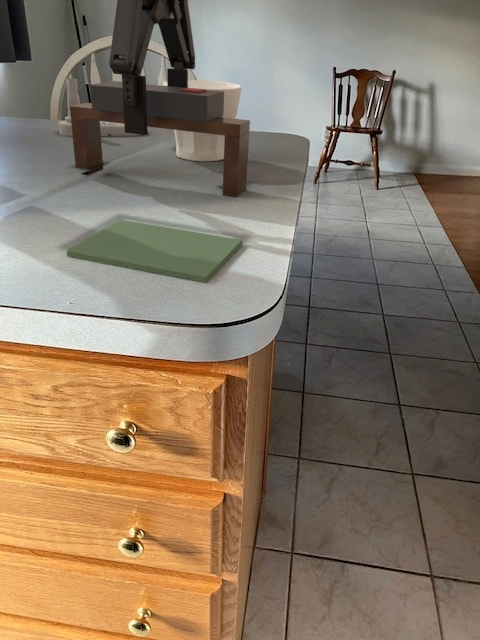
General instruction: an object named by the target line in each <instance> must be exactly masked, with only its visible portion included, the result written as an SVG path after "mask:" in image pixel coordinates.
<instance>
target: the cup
mask: <svg viewBox="0 0 480 640" xmlns="http://www.w3.org/2000/svg"><path fill="white" fill-rule="evenodd" d="M162 86H168V81H167V80H165V81H164V82H163V83H162ZM188 88H196V89H206V90H213V91H224V112H223V116H222V117H224V118H233V119H236V118H237V116H238V112H239V104H240V98H241V93H242V88H243V87H242V85H241V84H237V83H233V82H226V81H217V80H203V79H201V80H200V79H188ZM173 131H174V139H175V145H176V146H175V147H176V148H175V149H176V150H175V153H176V154H175V155H176V157H178V158H179V159H181V160H185V161H192V162H204V163H205V162H207V163H209V162H210V163H211V162H219V161H224V141H225V136H224V135H216V134H207V133H199V132H190V131H181V130H173Z"/></svg>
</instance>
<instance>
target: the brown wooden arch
mask: <svg viewBox="0 0 480 640" xmlns="http://www.w3.org/2000/svg"><path fill="white" fill-rule="evenodd" d="M70 113H71V124H72V135H73V136H72V144H73V154H74V166H75V169H76V168H77V169H83V170H86V171H84V172H81V173H80V175H81V176H90V175H93V174H95V173H98V172H100V171H103V170H104V161H103V147H102V136H101V130H100V121H104V122H113V123H121V124H124V113H118V112H109V111H100V110H92V102H82V103H79V104H77V105H72V106H70ZM250 127H251V120H250V119H244V118H243V119H241V118H235V119H233V118H224V117H219V118H216V119H214V120H211V121H209V122H199V121H190V120H181V119H172V118H163V117H154V116H147V128H157V129H166V130H172V131H174V130H181V131H190V132H199V133H207V134H216V135H224V136H225V141H224V159H223V168H222V169H223V171H222V196H227V197H232V198H238V197H239V196H241V194H243V193H244V192H245V191H246V190H247V181H248V179H247V178H248V165H249V163H248V162H249V146H250V145H249V144H250Z"/></svg>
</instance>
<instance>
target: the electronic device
mask: <svg viewBox="0 0 480 640" xmlns="http://www.w3.org/2000/svg"><path fill="white" fill-rule="evenodd" d="M65 79H66V80H65V81H66V93H67V98H66V105H67V116H65V117H64V120H61V121H59V122H58V130H59V131H58V132H59V135H61V136H65V137H73V135H72V124H71V113H70V106H72V105H77V104H80V98H79V88H78V87H79V86H78V79H77V78H72V77H71V78H70V77H69V78H68V77H67V78H65ZM100 130H101V137H121V136H122V137H123V136H124V137H126V136H128V137H129V136H130V137H131V136H141V135H140V134H132V133H125V127H124V124H121V123H113V122H104V121H100Z"/></svg>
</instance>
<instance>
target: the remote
mask: <svg viewBox="0 0 480 640" xmlns="http://www.w3.org/2000/svg"><path fill="white" fill-rule="evenodd" d="M89 87H90V100H91V102H90V103H92V110H100V111H109V112H118V113H124V107H123V87H122V81H119V80H118V81H117V80H113V81H106V82H99V83H93V84H90V85H89ZM146 101H147V116H154V117H163V118H172V119H181V120H190V121H199V122H209V121H211V120H214V119H216V118H219V117H222V116H223V112H224V91H213V90H206V89H196V88H181V87H171V86H163V85H159V84H149V83H146Z"/></svg>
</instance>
